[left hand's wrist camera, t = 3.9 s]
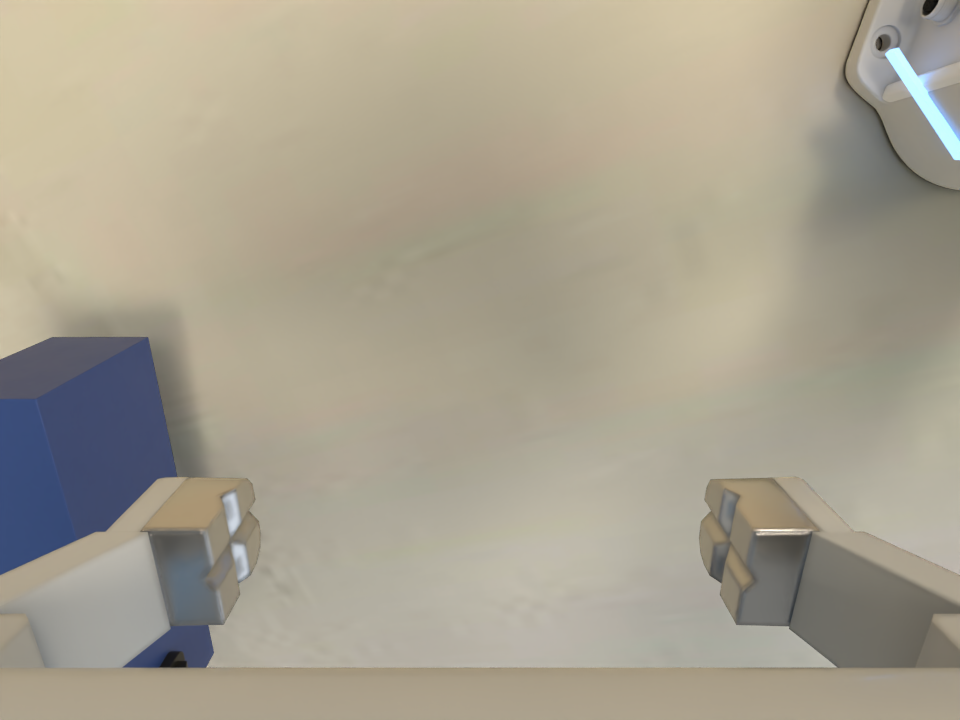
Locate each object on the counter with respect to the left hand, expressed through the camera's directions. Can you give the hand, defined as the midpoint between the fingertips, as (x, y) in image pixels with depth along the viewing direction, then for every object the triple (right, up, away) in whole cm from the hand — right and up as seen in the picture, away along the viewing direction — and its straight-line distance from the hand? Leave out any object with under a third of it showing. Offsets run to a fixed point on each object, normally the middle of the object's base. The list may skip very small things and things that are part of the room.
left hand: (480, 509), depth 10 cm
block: (-21, -7, +26) cm, 34 cm away
